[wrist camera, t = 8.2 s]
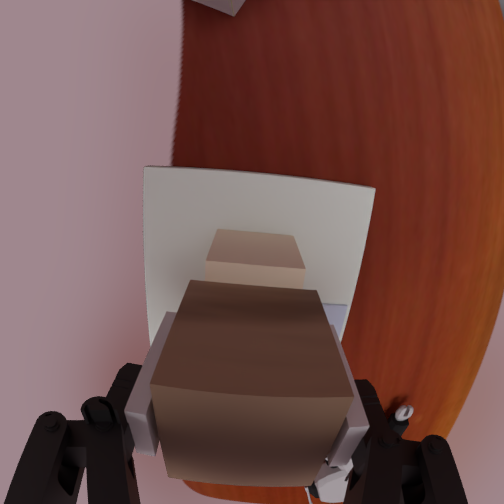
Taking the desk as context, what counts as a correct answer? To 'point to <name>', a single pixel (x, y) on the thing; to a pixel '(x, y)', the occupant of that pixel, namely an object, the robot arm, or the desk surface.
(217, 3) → the puzzle toy
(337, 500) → the robot toy
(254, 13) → the desk surface
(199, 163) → the desk surface
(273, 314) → the walnut block
